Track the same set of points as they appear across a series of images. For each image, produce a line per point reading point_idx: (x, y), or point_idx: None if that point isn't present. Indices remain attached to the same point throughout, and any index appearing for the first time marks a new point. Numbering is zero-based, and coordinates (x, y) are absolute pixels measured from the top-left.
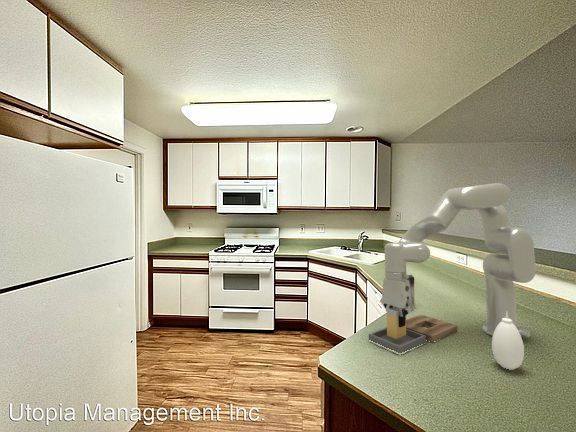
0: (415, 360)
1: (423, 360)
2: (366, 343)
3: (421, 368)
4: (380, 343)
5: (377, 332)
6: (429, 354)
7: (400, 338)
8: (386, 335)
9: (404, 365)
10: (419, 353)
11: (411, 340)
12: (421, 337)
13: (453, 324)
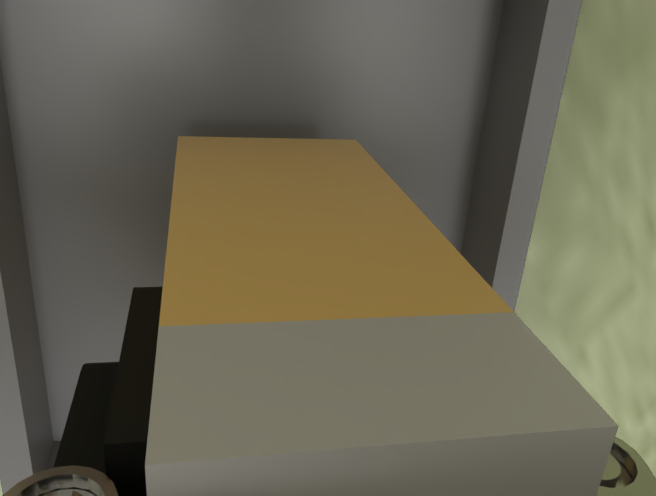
0: (573, 371)
1: (625, 319)
2: None
3: (646, 428)
4: None
5: (22, 394)
6: (639, 173)
7: (248, 128)
8: (51, 201)
9: None
10: (556, 234)
11: (500, 252)
12: (566, 47)
13: None
